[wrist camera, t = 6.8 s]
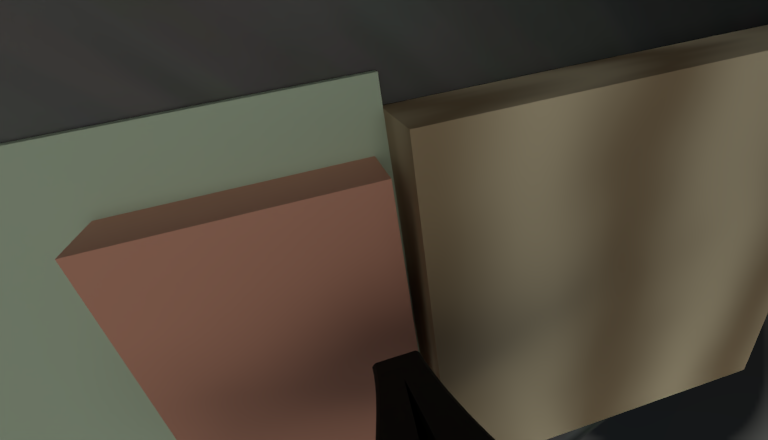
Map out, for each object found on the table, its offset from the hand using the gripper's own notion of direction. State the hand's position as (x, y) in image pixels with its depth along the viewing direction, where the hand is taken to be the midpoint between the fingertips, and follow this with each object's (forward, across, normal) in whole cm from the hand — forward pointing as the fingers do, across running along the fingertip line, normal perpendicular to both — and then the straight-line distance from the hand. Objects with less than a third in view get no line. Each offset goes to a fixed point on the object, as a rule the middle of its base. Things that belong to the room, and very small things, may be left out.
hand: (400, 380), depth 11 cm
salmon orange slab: (+3, +3, -1) cm, 5 cm away
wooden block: (+4, -8, 0) cm, 9 cm away
